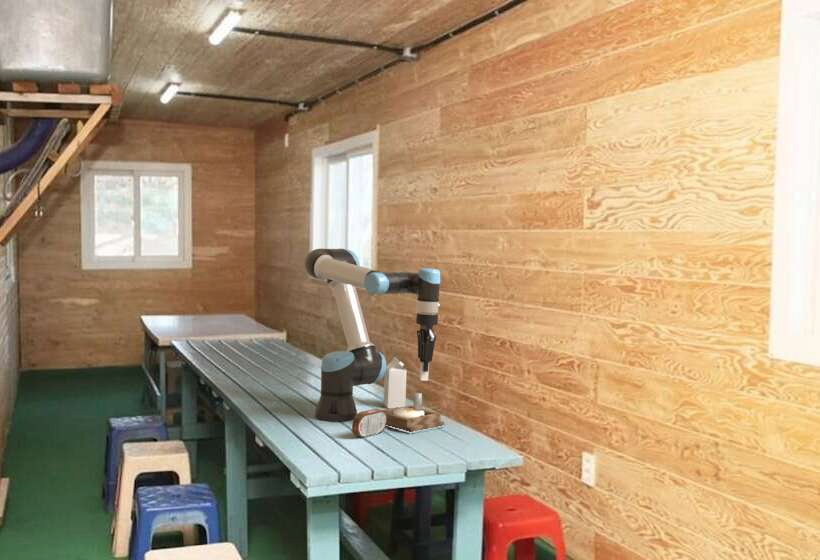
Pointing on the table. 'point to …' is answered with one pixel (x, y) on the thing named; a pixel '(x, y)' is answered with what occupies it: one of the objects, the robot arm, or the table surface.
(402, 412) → the dial
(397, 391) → the milk carton
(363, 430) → the tin
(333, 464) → the table surface
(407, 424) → the wooden tray
